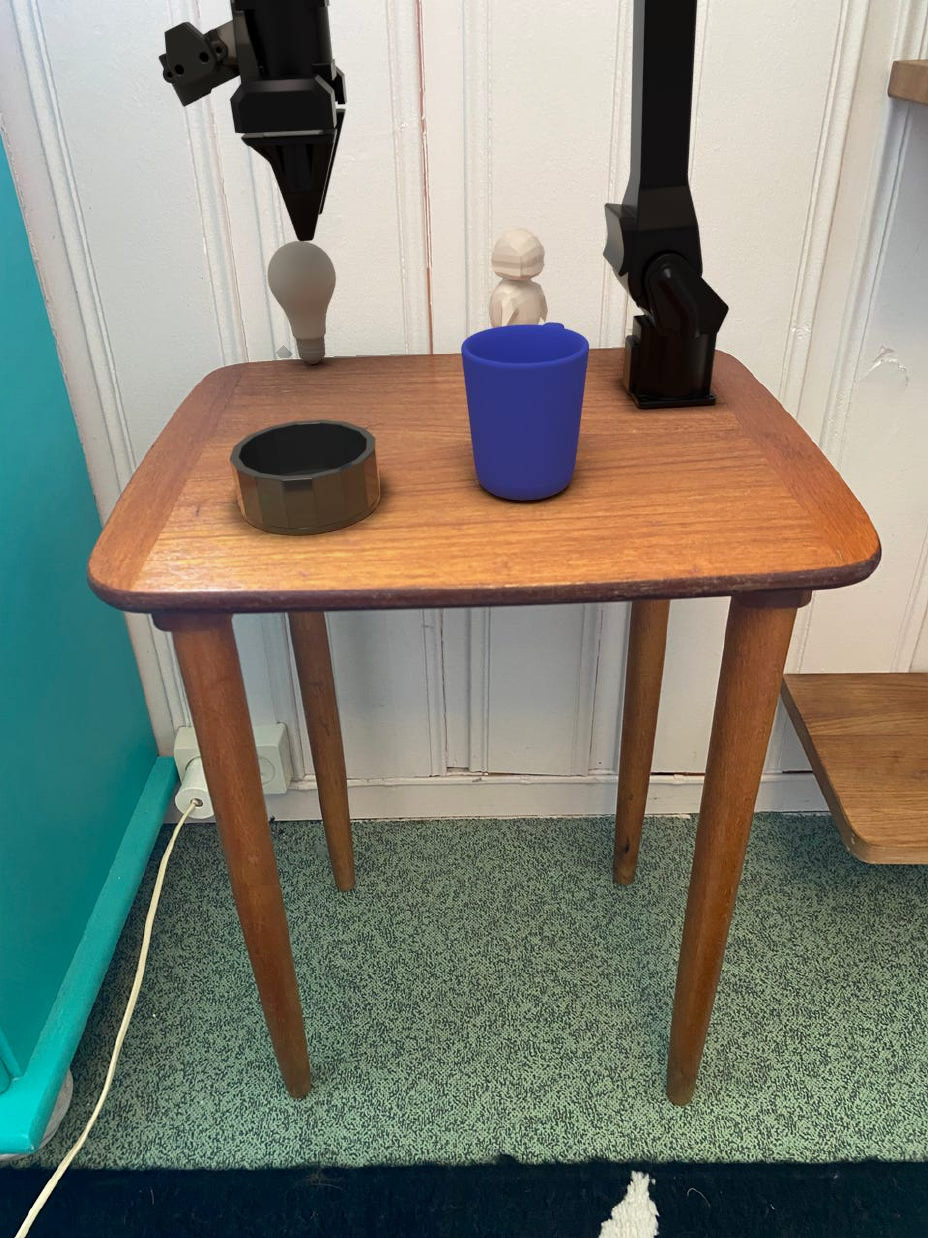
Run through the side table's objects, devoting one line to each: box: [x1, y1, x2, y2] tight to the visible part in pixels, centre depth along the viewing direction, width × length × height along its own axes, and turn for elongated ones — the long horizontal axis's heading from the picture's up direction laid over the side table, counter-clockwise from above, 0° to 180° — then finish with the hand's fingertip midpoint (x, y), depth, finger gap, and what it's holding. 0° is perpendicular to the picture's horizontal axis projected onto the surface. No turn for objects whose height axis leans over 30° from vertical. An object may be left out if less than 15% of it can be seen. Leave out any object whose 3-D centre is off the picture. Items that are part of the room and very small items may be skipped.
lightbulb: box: [266, 240, 337, 365], centre depth 84 cm, size 6×6×11 cm
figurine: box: [488, 227, 549, 328], centre depth 81 cm, size 8×5×12 cm, turn 146°
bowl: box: [229, 419, 381, 536], centre depth 62 cm, size 10×10×4 cm
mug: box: [460, 321, 590, 501], centre depth 63 cm, size 8×12×10 cm
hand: (310, 226), depth 68 cm, fingers open, 9 cm apart
